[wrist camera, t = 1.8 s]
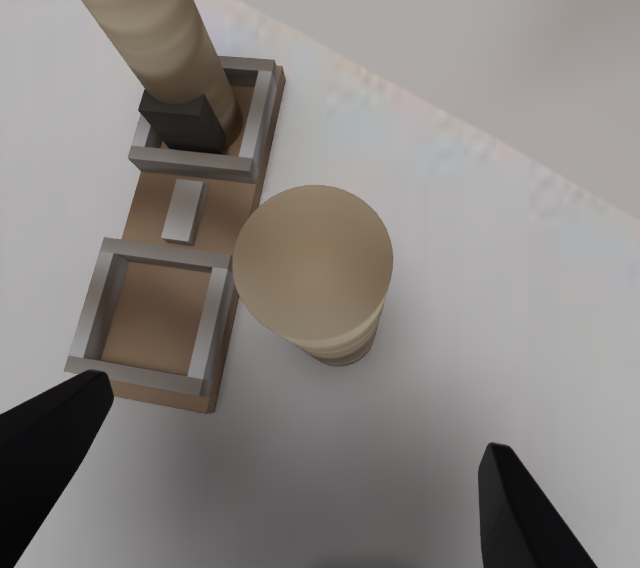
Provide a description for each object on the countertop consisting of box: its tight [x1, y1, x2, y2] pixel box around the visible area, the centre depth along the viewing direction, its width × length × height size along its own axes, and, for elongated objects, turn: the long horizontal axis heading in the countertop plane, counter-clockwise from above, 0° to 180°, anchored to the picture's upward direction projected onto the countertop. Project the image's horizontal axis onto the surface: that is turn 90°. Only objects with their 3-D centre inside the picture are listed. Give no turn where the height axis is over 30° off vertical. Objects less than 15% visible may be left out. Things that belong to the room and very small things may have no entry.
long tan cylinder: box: [82, 0, 243, 154], centre depth 19 cm, size 4×4×13 cm
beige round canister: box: [233, 185, 393, 366], centre depth 17 cm, size 4×4×13 cm
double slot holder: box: [64, 56, 285, 413], centre depth 24 cm, size 21×7×3 cm, turn 170°
